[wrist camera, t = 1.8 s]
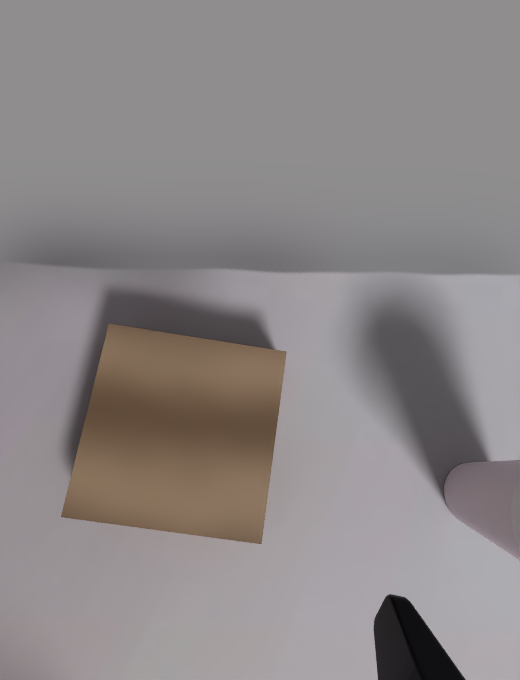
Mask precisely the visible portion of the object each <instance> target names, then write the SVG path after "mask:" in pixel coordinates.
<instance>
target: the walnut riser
mask: <svg viewBox="0 0 520 680" xmlns="http://www.w3.org/2000/svg"><path fill="white" fill-rule="evenodd" d="M285 359H286V351H279V350H273V349H267V348H260V347H254V346H248V345H241V344H235V343H229V342H222V341H216V340H210V339H203V338H197V337H191V336H184V335H178V334H172V333H165V332H159V331H153V330H146V329H140V328H134V327H127V326H121V325H115V324H109V325H108V329H107V333H106V337H105V341H104V345H103V349H102V353H101V357H100V361H99V365H98V369H97V373H96V377H95V381H94V385H93V389H92V394H91V398H90V402H89V406H88V410H87V414H86V418H85V422H84V426H83V430H82V434H81V438H80V442H79V446H78V450H77V454H76V458H75V462H74V467H73V471H72V475H71V479H70V483H69V487H68V491H67V495H66V499H65V503H64V507H63V511H62V515H61V517H65V518H72V519H80V520H87V521H95V522H102V523H109V524H117V525H124V526H131V527H139V528H146V529H154V530H161V531H168V532H176V533H183V534H191V535H198V536H205V537H213V538H220V539H227V540H235V541H242V542H250V543H257V544H261V543H262V535H263V527H264V520H265V512H266V504H267V497H268V489H269V482H270V474H271V466H272V459H273V451H274V443H275V436H276V428H277V420H278V413H279V405H280V397H281V390H282V382H283V374H284V367H285Z"/></svg>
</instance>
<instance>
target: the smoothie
mask: <svg viewBox="0 0 520 680" xmlns="http://www.w3.org/2000/svg"><path fill="white" fill-rule="evenodd" d="M444 496H445V501H446V504H447V506H448V508H449V510H450V511H451V513H452V514H453V515H454V516H455V517H456V518H457V519H458V520H459V521H461V522H462V523H464V524H465V525H467V526H468V527H470V528H471V529H473V530H475V531H476V532H478V533H479V534H481V535H482V536H484V537H485V538H487V539H488V540H490V541H491V542H493V543H494V544H496V545H497V546H499V547H500V548H502V549H503V550H505V551H506V552H508V553H509V554H511V555H512V556H514V557H515V558H517V559H518V560H520V460H512V461H491V462H470V463H463V464H460V465H458V466H456V467H455V468H453V469H452V470H451V471H450V473H449V474H448V476H447V478H446V481H445V485H444Z"/></svg>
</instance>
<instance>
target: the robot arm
mask: <svg viewBox="0 0 520 680" xmlns="http://www.w3.org/2000/svg"><path fill="white" fill-rule="evenodd" d="M374 638H375V649H376V661H377V672H378V680H465V678H464V677H463V675H462V674H461V673H460V671H459V670H458V668H457V667H456V666H455V664H454V663H453V661H452V660H451V659H450V657H449V656H448V654H447V653H446V651H445V650H444V649H443V647H442V646H441V644H440V643H439V642H438V640H437V639H436V637H435V636H434V635H433V633H432V632H431V630H430V629H429V628H428V626H427V625H426V623H425V622H424V620H423V619H422V618H421V616H420V615H419V613H418V612H417V611H416V609H415V608H414V606H413V605H412V604H411V602H410V601H409V600H408V599H407V598H405V597H401V596H396V595H391V594H389V595H387V596H386V597H385V599H384V601H383V603H382V605H381V607H380V609H379V611H378V613H377V615H376V617H375V621H374Z"/></svg>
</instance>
